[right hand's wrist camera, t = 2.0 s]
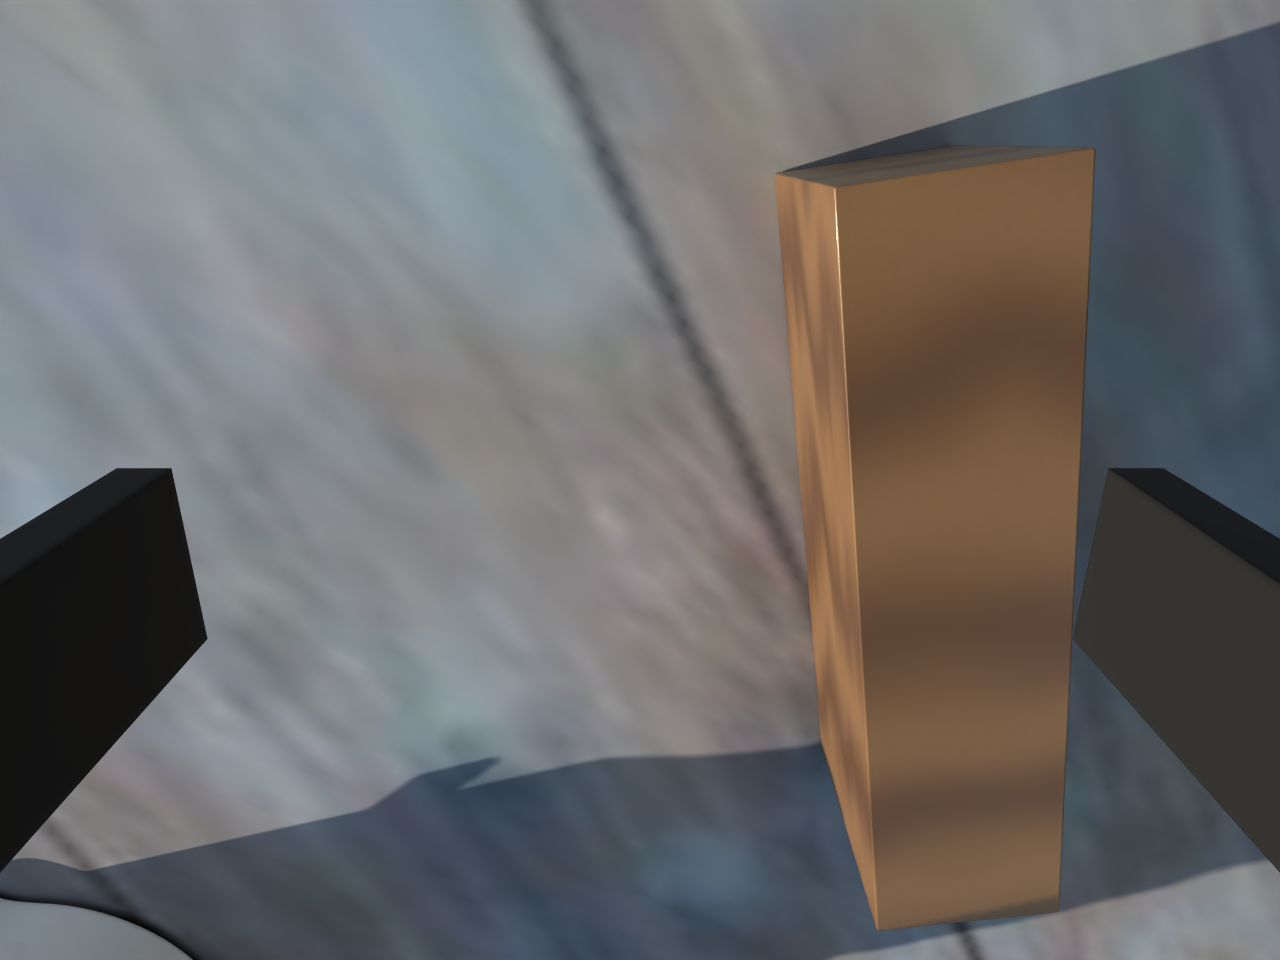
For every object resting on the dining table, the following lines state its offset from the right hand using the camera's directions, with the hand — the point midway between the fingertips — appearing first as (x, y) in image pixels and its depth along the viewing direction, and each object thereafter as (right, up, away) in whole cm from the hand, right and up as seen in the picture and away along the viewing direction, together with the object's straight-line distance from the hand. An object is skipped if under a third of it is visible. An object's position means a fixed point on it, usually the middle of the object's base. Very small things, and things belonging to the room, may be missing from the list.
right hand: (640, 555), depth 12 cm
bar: (+8, +1, +18) cm, 19 cm away
